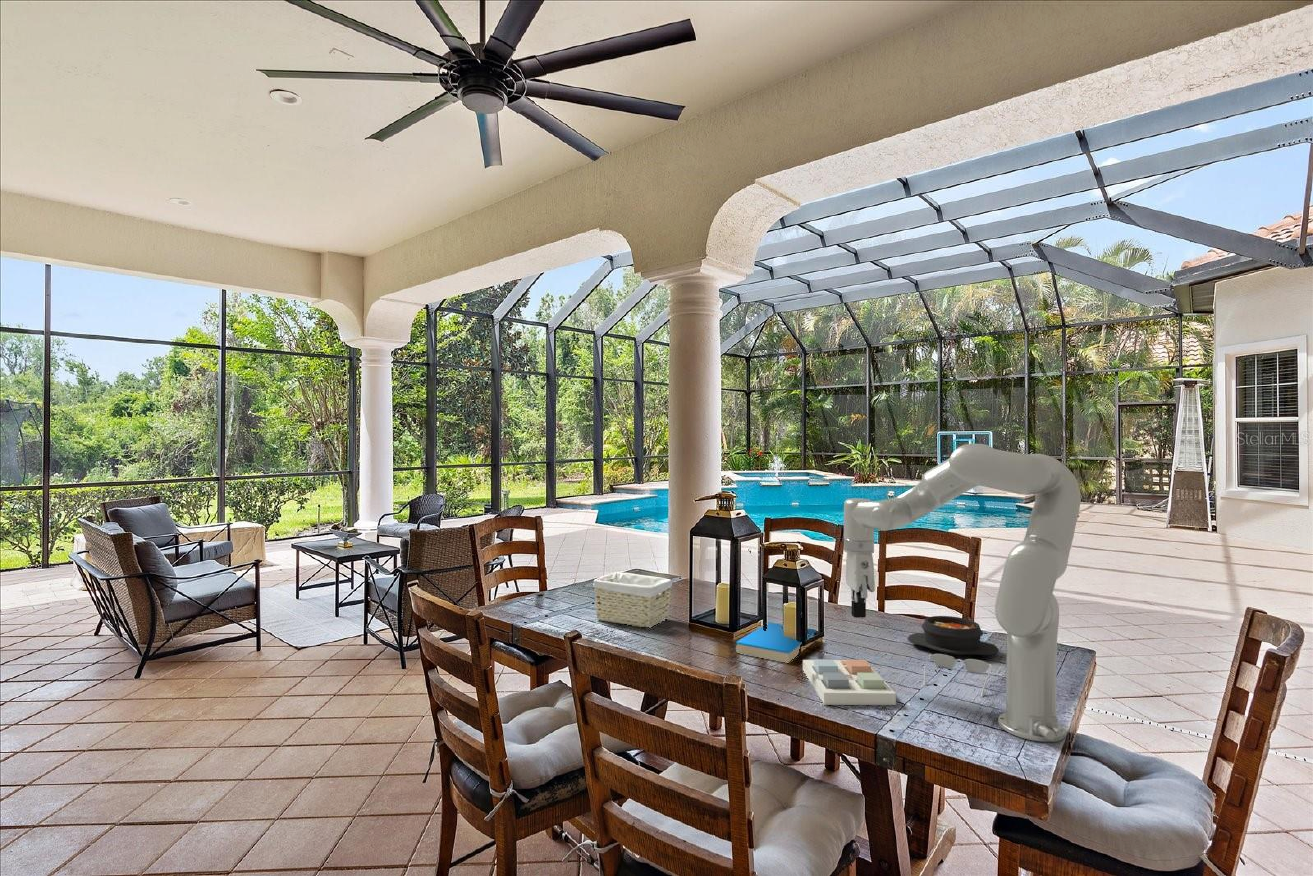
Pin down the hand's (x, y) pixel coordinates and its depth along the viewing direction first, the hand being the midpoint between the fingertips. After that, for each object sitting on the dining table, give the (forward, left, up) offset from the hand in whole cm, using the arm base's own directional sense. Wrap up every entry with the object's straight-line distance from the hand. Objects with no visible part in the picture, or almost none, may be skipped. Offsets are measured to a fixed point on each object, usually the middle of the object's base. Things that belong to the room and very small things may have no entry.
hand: (858, 616), depth 167 cm
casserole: (+27, -36, -17) cm, 48 cm away
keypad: (-4, +4, -17) cm, 18 cm away
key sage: (-10, 0, -15) cm, 17 cm away
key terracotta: (0, 0, -15) cm, 15 cm away
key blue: (0, +9, -15) cm, 17 cm away
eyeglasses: (+2, -26, -18) cm, 32 cm away
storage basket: (+56, +61, -18) cm, 85 cm away
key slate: (-10, +8, -15) cm, 19 cm away
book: (+28, +16, -18) cm, 37 cm away
